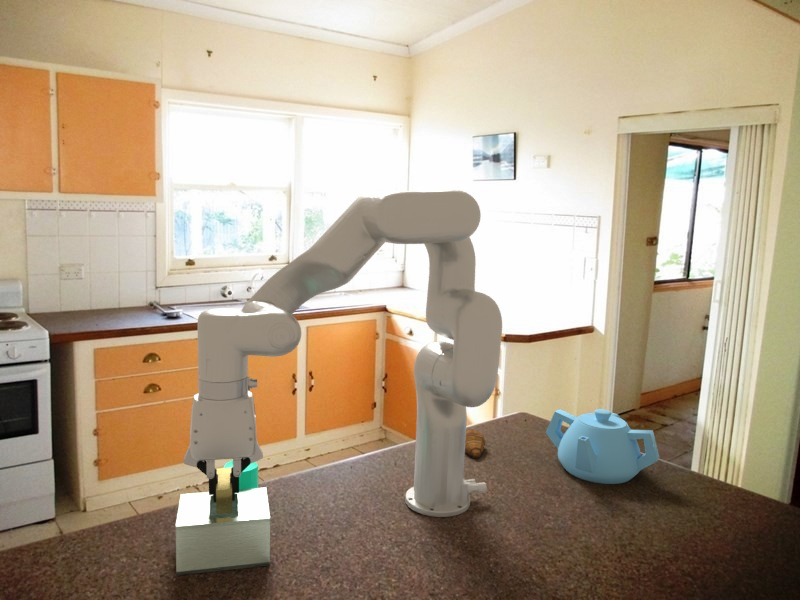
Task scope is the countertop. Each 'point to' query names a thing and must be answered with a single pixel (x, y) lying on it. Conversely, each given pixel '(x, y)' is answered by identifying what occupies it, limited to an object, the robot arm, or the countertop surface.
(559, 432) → the teapot
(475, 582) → the countertop surface
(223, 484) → the block
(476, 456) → the croissant
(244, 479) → the candle
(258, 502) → the coin box
